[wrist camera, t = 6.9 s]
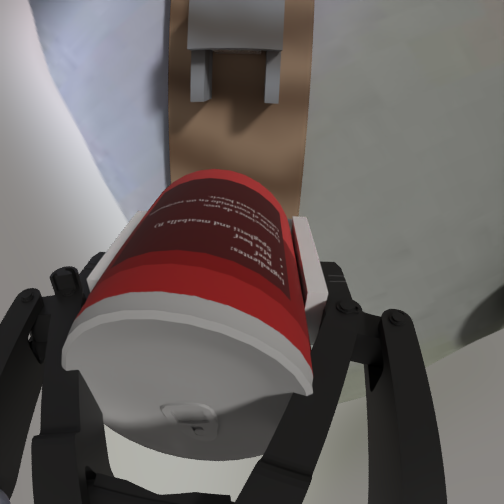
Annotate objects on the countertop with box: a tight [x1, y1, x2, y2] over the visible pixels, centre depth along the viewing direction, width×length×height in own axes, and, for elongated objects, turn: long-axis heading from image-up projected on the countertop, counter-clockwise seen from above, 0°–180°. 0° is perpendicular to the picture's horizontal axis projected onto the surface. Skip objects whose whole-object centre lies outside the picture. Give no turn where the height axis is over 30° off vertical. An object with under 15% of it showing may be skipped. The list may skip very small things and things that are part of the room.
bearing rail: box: [168, 0, 314, 231], centre depth 23 cm, size 26×12×7 cm, turn 178°
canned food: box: [62, 169, 313, 461], centre depth 13 cm, size 8×8×11 cm
